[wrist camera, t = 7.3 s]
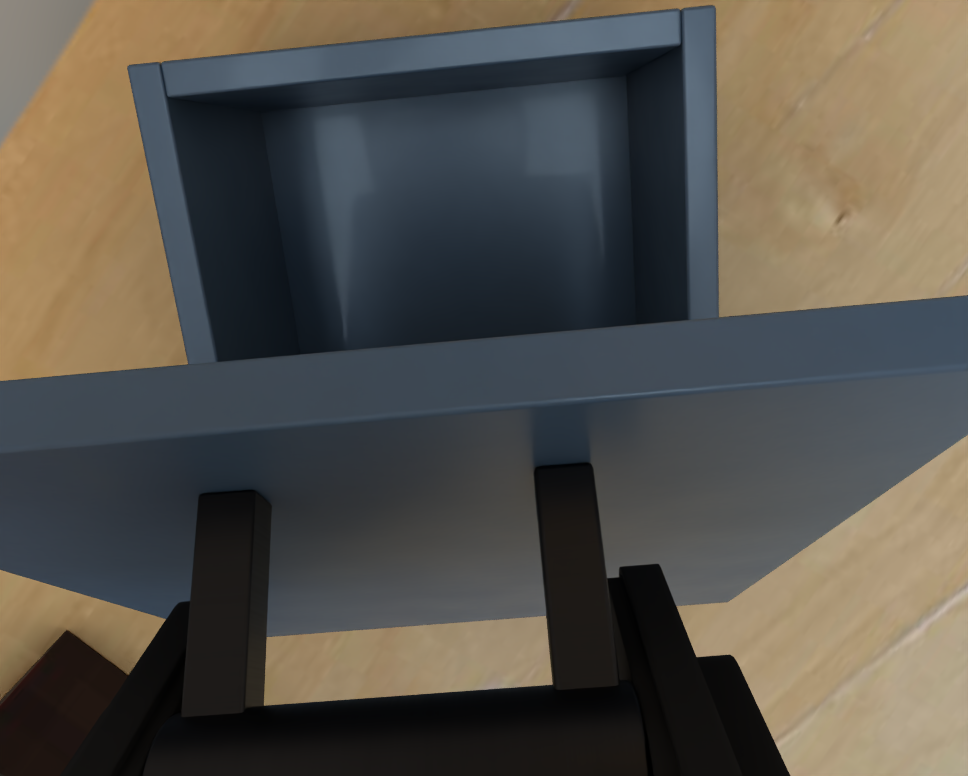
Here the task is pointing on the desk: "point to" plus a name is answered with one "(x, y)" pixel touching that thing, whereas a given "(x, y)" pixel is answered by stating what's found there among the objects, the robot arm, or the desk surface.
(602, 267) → the grey open box
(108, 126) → the desk surface
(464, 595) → the lid
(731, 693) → the robot arm
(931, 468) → the desk surface
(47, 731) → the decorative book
